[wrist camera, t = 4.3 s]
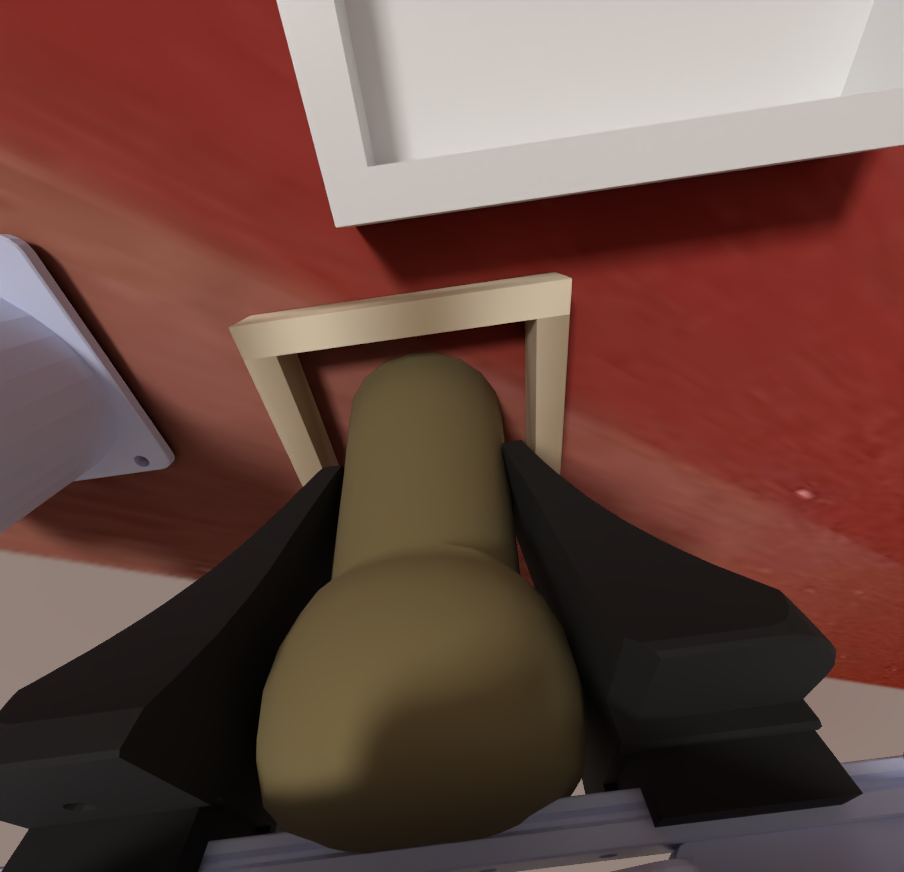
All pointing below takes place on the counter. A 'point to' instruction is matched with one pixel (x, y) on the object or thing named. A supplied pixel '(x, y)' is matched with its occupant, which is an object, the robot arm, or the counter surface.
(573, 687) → the cork
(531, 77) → the tray
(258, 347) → the collar
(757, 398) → the counter surface
